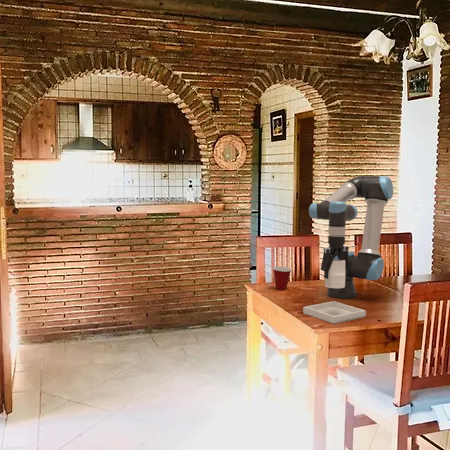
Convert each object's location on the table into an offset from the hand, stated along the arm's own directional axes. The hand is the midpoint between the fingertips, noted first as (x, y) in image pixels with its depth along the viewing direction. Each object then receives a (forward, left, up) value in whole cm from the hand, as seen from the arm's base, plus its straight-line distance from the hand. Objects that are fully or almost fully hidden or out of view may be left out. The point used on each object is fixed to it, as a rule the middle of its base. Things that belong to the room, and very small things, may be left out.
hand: (334, 284), depth 242 cm
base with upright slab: (0, 0, -1) cm, 1 cm away
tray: (0, 0, -15) cm, 15 cm away
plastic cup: (-13, -53, -15) cm, 57 cm away
